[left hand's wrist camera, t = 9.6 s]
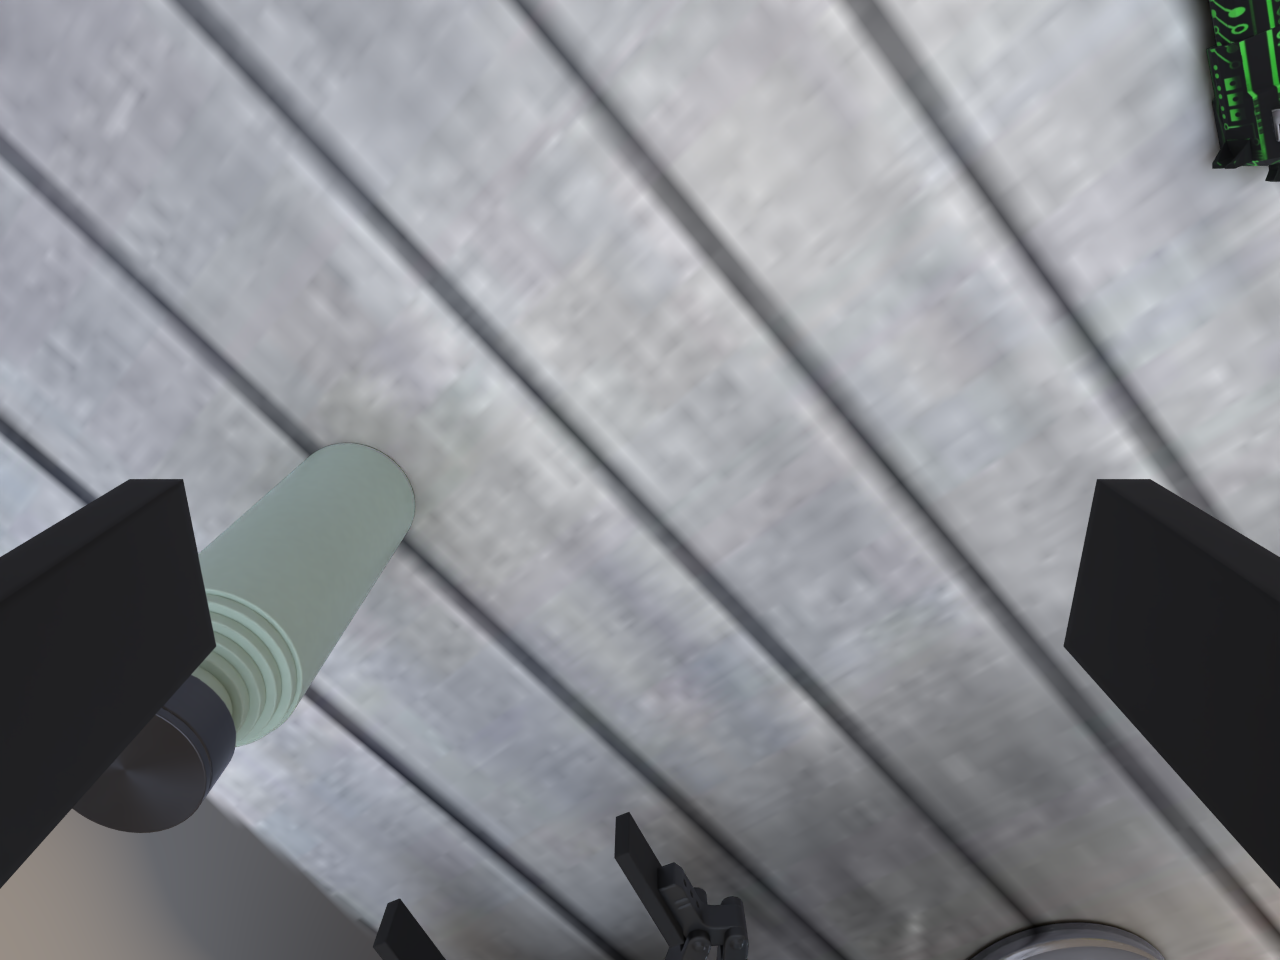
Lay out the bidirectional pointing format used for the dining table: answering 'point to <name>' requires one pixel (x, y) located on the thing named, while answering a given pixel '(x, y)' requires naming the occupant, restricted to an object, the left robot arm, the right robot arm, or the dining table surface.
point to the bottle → (298, 579)
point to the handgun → (1246, 83)
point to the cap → (165, 765)
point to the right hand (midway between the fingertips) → (501, 878)
